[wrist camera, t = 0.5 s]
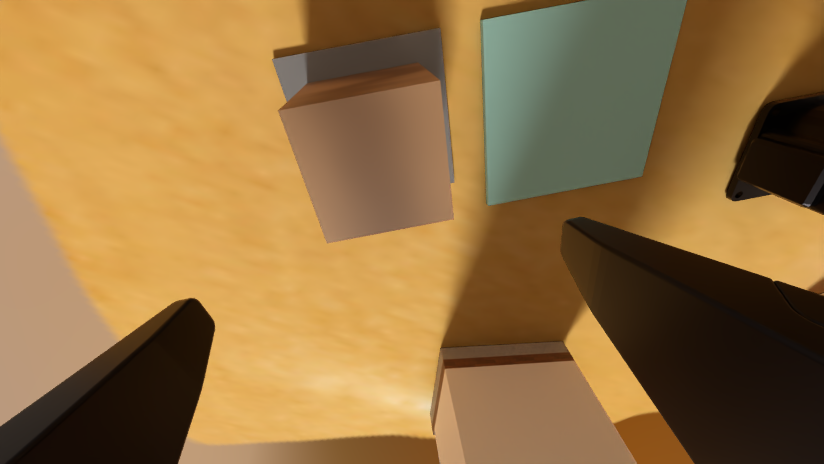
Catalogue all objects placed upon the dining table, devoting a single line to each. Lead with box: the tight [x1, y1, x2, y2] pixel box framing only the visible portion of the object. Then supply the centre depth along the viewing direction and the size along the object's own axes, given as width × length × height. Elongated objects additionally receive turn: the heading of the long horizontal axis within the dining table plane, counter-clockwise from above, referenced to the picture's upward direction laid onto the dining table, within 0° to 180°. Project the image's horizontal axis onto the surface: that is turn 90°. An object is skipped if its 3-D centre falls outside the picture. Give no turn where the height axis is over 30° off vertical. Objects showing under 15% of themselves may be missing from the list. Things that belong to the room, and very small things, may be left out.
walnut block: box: [278, 62, 454, 243], centre depth 15 cm, size 6×6×6 cm
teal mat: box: [480, 0, 687, 206], centre depth 18 cm, size 10×10×1 cm
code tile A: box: [272, 28, 454, 183], centre depth 18 cm, size 8×8×1 cm
